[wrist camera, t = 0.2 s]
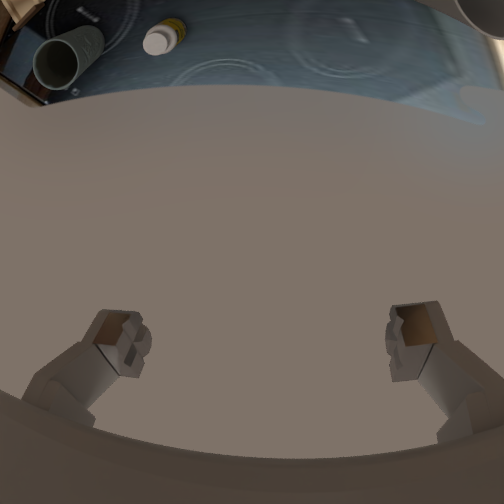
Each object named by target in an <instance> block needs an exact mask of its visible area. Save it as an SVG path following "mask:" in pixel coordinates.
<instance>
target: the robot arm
mask: <svg viewBox="0 0 504 504" xmlns="http://www.w3.org/2000/svg"><path fill="white" fill-rule="evenodd" d="M389 315H390V319H391V321H390V322H389V323H388V324H387V327H386V336H385V341H386V349H387V353H388V354H389V355H390V356H391V361H390V364H389V366H390V371H391V377H392V382H399V381H409V380H416V379H418V382H419V383H420V385H421V386H422V387H423V388H424V389H425V390H426V392H427V393H428V394H429V395H430V396H431V397H432V399H433V400H434V401H435V402H436V404H437V405H438V406H439V407H440V408H441V410H442V411H443V412H444V413H445V415H446V416H447V417H448V418H449V419H448V420H447V421H446V423H445V424H444V425H443V426H442V428H440V430H439V431H438V432H437V439H438V444H434V445H429V446H424V447H419V448H414V449H409V450H402V451H396V452H389V453H381V454H373V455H364V456H353V457H339V458H318V459H277V458H256V457H254V458H253V457H242V456H230V455H220V454H213V453H204V452H197V451H190V450H185V449H178V448H174V447H168V446H163V445H158V444H153V443H149V442H144V441H140V440H136V439H132V438H128V437H124V436H120V435H117V434H113V433H109V432H106V431H103V430H99V429H96V428H93V425H94V422H95V416H93V414H91V413H90V412H89V411H88V410H87V409H88V408H89V407H90V406H91V405H92V404H93V403H94V402H95V401H96V400H97V398H99V397H100V396H101V395H102V393H104V392H105V391H106V390H107V389H108V388H109V387H110V386H111V385H112V384H113V383H114V382H115V381H116V380H117V379H118V378H119V376H126V377H133V378H139V376H140V373H141V371H142V368H143V366H144V360H143V357H144V356H146V355H147V354H148V353H149V351H150V348H151V342H152V338H151V333H150V331H149V329H148V328H147V327H146V326H145V325H143V324H142V321H143V318H142V316H141V315H140V313H139V312H135V311H122V310H106V309H102V310H101V311H99V312H98V314H97V315H96V317H95V319H94V320H93V322H92V324H91V325H90V327H89V329H88V331H87V332H86V334H85V336H84V338H83V339H82V341H81V342H77V343H76V344H74V345H73V346H72V347H70V348H69V349H67V350H66V351H65V352H63V353H62V354H60V355H59V356H58V357H56V358H55V359H54V360H52V361H51V362H50V363H48V364H47V365H46V366H44V367H43V368H42V369H40V370H39V371H38V372H36V373H35V374H34V376H33V378H32V380H31V382H30V383H29V385H28V387H27V389H26V391H25V393H24V395H23V397H22V399H21V400H20V399H18V398H16V397H14V396H12V395H10V394H8V393H6V392H4V391H1V390H0V504H504V379H503V378H502V377H501V376H500V375H499V374H498V373H497V372H495V371H494V370H493V369H492V368H490V367H489V366H488V365H487V364H486V363H485V362H484V361H483V360H481V359H480V358H479V357H478V356H477V355H475V354H474V353H473V352H472V351H471V350H469V349H468V348H467V347H466V346H464V345H463V344H462V343H461V342H460V341H458V340H457V341H454V339H453V336H452V333H451V331H450V328H449V326H448V323H447V321H446V318H445V316H444V313H443V311H442V308H441V306H440V304H439V302H438V301H430V302H422V303H421V302H420V303H411V304H402V305H392V307H391V309H390V313H389Z"/></svg>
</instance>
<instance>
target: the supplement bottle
mask: <svg viewBox="0 0 504 504" xmlns="http://www.w3.org/2000/svg"><path fill="white" fill-rule="evenodd" d="M185 35H186V26H185V24H184V23H183V22H182V21H181V20H179V19H177V18H168V19H165V20H164V21H162V22H160V23H159V24H157V25H155V26H154V27H152V28H151V29H150V30H149V31H148V32H147V34H146V36H145V39H144V41H143V47H144V50H145V51H146V52H147V53H148V54H151V55H159V54H164V53H167V52H169V51H171V50H172V49H173V48H174V47H175V46H176V45H177V44H178V43H179V42H181V41H182V40H183V38H184V37H185Z"/></svg>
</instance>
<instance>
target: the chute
mask: <svg viewBox="0 0 504 504" xmlns="http://www.w3.org/2000/svg"><path fill="white" fill-rule="evenodd" d="M1 1H2V2H3V4H4V5H5V7H6V9H7V10H8V12H9V13H10V15H11V16H12V18H13V20H14V21H15V23H16V25H15V26H14V27H13V28H12V29H13V30H14V31H16V30H18V29H20V28H22V27H23V26H24V25H25V24H26V23H27V22H28V21H29V20H30V19H31V18H32V17H33V16H34V15H35V14H36V13H37V12H38V11H39V10H40V9H41V8H42V7H43V6H44V5H45V4H44V1H45V0H1Z"/></svg>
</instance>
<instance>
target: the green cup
mask: <svg viewBox="0 0 504 504" xmlns="http://www.w3.org/2000/svg"><path fill="white" fill-rule="evenodd" d="M104 47H105V39H104V36H103V34H102V32H101V31H100V30H99V29H98V28H96V27H94V26H91V25H85V26H81V27H78V28H76V29H74V30H73V31H69V32H66V33H64V34H62V35H59V36H56V37H54V38H52V39H50V40H47V41H45V42H44V43H43V44H42V45H41V46H40V47H39V48H38V49H37V51H36V53H35V55H34V59H33V70H34V73H35V76H36V78H37V79H38V81H39V82H40V83H41V84H42V85H43V86H45V87H46V88H49V89H52V90H61V89H64V88H66V87H68V86H69V85H70V84H71V83H73V82H74V81H75V80H76V79H77V77H78V76H79V75H81V74H82V73H83V72H84V71H85V70H86V68H88V67H89V66H90V65H91V64H92V63H93V62H94V61H95V60H96V59H98V58H99V57H100V55H101V54H102V52H103V50H104Z"/></svg>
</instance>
